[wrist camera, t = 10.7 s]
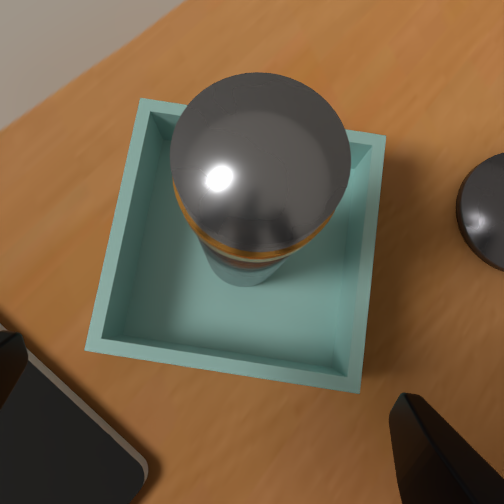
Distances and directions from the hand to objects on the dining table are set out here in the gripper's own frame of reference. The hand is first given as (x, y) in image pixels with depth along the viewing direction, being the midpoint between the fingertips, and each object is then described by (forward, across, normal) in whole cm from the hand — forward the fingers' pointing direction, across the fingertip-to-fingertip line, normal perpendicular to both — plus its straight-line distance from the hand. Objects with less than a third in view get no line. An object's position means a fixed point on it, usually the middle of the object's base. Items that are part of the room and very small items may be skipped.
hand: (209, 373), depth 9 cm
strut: (+11, 0, -4) cm, 12 cm away
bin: (+12, 0, -4) cm, 12 cm away
